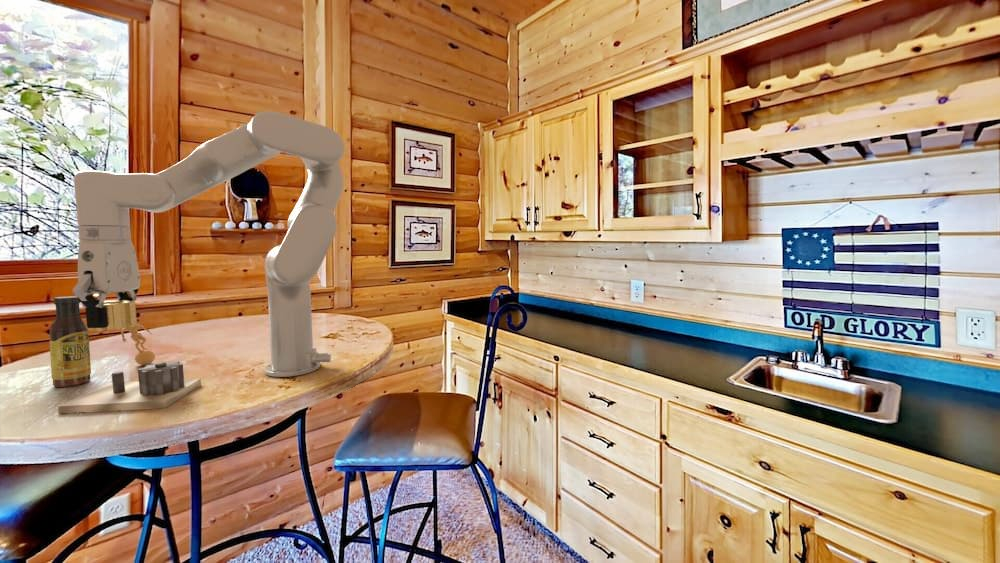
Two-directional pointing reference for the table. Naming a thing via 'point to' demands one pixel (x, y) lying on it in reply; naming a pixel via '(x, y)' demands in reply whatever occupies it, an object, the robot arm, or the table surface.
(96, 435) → the table surface
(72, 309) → the sauce bottle
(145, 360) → the figurine
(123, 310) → the cream toothed wheel
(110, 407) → the gear board
